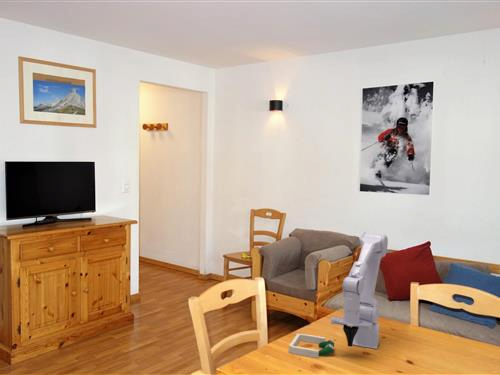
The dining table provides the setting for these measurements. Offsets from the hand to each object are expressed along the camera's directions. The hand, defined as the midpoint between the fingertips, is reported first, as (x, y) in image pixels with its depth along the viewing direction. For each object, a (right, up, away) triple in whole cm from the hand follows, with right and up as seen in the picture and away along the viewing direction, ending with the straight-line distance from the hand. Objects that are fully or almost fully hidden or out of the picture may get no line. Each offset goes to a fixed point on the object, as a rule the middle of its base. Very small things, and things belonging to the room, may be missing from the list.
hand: (350, 345), depth 167 cm
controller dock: (-15, -3, +6) cm, 16 cm away
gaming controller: (-9, -4, +3) cm, 10 cm away
